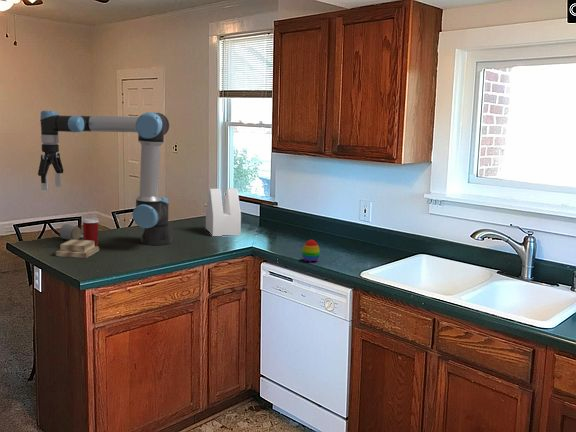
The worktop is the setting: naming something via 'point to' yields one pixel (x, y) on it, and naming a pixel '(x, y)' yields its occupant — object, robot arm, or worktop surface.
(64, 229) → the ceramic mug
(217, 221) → the white slotted block
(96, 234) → the paper cup
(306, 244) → the decorative egg
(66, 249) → the maple pedestal
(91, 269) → the worktop surface
